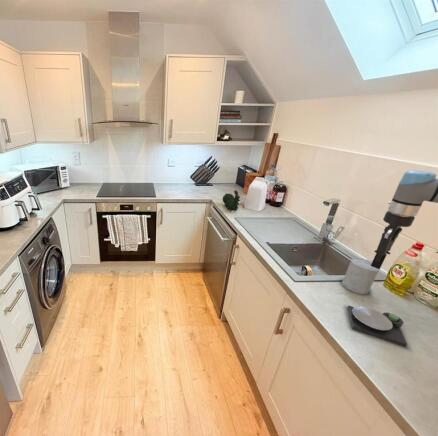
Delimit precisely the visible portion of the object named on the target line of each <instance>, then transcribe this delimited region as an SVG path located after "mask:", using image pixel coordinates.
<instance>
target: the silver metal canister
mask: <svg viewBox="0 0 438 436" xmlns="http://www.w3.org/2000/svg"><path fill="white" fill-rule="evenodd" d="M371 264H372V261H371V260H369V259H366V258H361V257H353V258H351V259H350V262H349V264H348V267H347V270H346V272H345V274H344V277H343V279H342V281H341V284H342V286H343V287H344V288H345V289H346V290H349V291H351V292H353V293H356V294H360V295H367V294H369V293H370V290H371V288H372V286H373V284H374V282H375V280H376V277H377V276H378V273H379V272H380V270H381V268H380V269H377V268H375V267H372V266H371Z"/></svg>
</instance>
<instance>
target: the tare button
mask: <svg viewBox="0 0 438 436" xmlns="http://www.w3.org/2000/svg"><path fill="white" fill-rule="evenodd" d="M388 318H389V319H390V320H392V321H395V322H397V321H398V319H399V318H400V317H399V316H398V315H396V314H394V313H391V314H389V315H388Z"/></svg>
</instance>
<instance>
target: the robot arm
mask: <svg viewBox="0 0 438 436" xmlns="http://www.w3.org/2000/svg"><path fill="white" fill-rule="evenodd" d="M424 202H428V203H429V202H430V203H436V204H438V177H437V174H436V173H435V172H432V171H427V170H418V169H417V170H416V169H413V170H412V169H411V170H407V171H406V172H404V173H403V175H402V177H401V179H400V180H399V182H398V185H397V186H396V189H395V192H394V194H393V196H392V199H391V201H388V202H387V203H388V205H389V206H388V208H387V211H386V212H385V214H384V217H383V219H382V220H383V222H384V223H387V224H388V225H387V226H385V227H384V229H383V232H382V234H381V236H380V237H381V238H380V240H379V243H378V245H377V247H376V250H374V251H373V252H374V253H375V255H374V257H373V259H372V261H371V262H372V264H371V266H372V267H375V268H377V269H380V270H381V268H382V266H383V263H384V261H385V260H386V257H387V255H391V252H390V251H391V249H392V247H393V245H394V243H395V241H396V240H397V239H398V237H399V235H400V233H401V232H402V231H403V228H409V227H411V226H412V225H413V223H414V221H415V219H416V216H417V215H418V213H419V211H420V209H421V207H422V205H423V203H424Z"/></svg>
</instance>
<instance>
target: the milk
mask: <svg viewBox="0 0 438 436" xmlns="http://www.w3.org/2000/svg"><path fill="white" fill-rule="evenodd" d="M267 192H268V184H267V183H266V179H265V177H261V176H256V177H255V178H254V179H253V180H252V182H251V183H250V184H249V186H248V189H247V193H246V198H245V202H244V206H243V209H246V210H250V211H254V212H260V211H262V210H264V209H265V206H266V198H267Z"/></svg>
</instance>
